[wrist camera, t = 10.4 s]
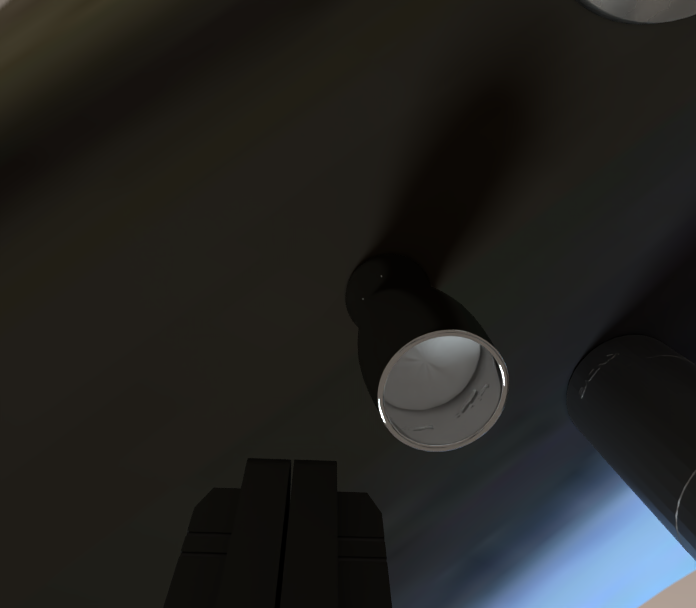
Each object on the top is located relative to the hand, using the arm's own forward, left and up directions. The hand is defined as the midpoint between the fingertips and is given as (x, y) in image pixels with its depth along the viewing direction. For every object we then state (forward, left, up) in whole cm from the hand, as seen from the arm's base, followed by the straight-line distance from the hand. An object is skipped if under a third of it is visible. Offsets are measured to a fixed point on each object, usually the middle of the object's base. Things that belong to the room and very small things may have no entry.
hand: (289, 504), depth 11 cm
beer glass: (-11, +2, -33) cm, 35 cm away
